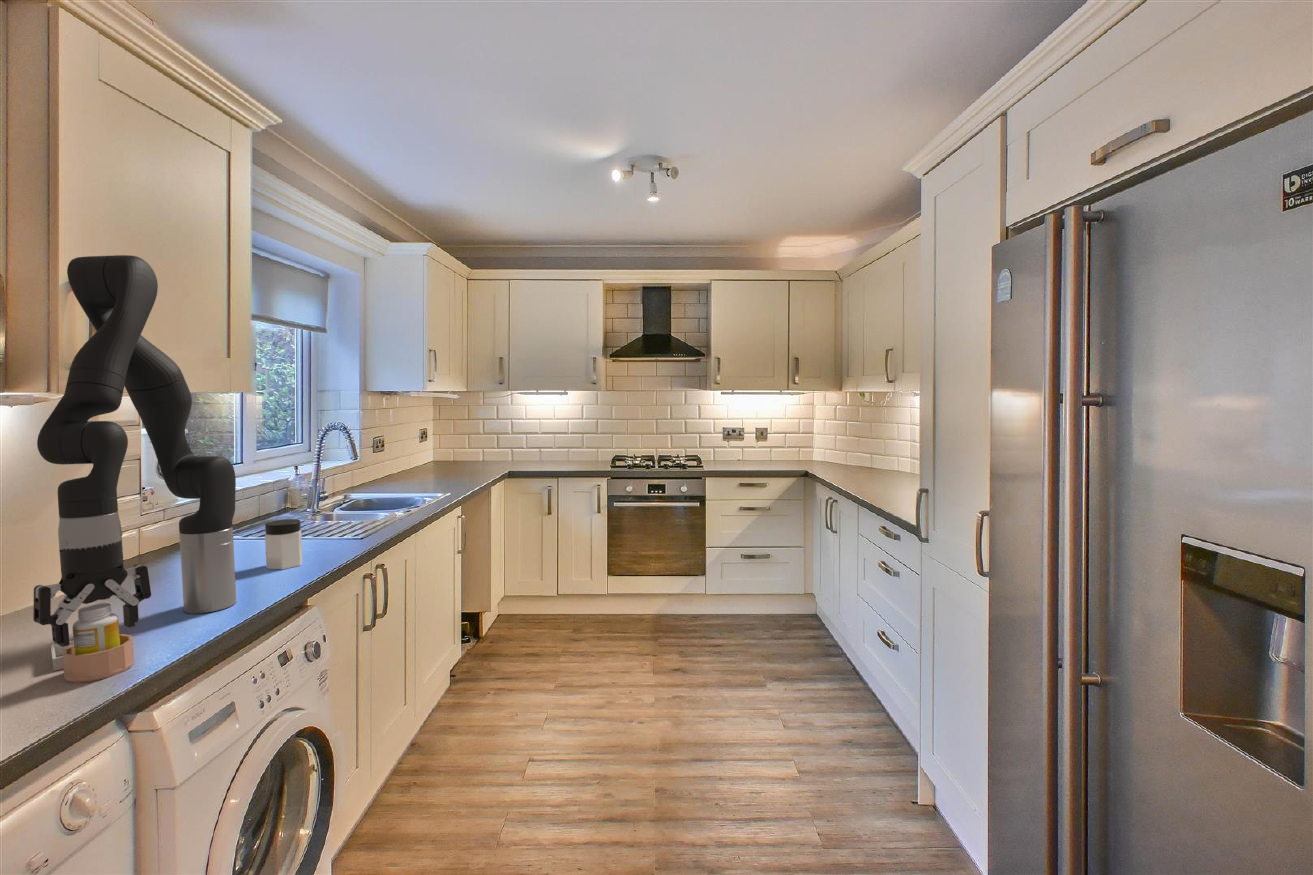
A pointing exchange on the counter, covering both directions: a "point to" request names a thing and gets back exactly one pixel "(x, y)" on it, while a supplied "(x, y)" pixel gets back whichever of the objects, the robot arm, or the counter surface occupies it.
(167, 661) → the counter surface
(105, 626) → the supplement bottle
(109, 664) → the terracotta bowl
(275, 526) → the jar
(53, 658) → the tray
